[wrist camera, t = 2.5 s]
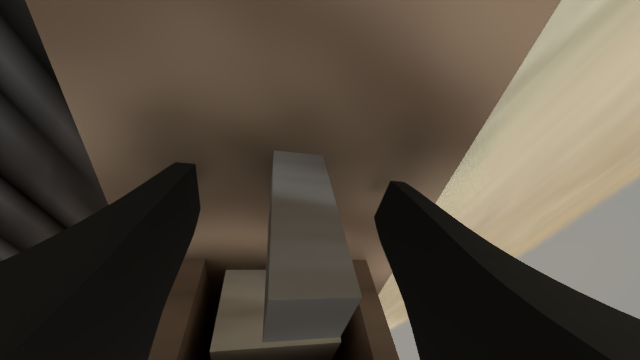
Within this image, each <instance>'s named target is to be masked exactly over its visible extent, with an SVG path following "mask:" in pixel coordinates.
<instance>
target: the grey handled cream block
mask: <svg viewBox="0 0 640 360" xmlns="http://www.w3.org/2000/svg"><path fill="white" fill-rule="evenodd" d="M361 299H362V295H361V291H360V288H359V284H358V280H357V277H356V273H355V270H354V266H353V262H352V259H351V255H350V252H349V248H348V244H347V241H346V237H345V233H344V230H343V226H342V223H341V219H340V215H339V212H338V208H337V205H336V201H335V197H334V194H333V190H332V186H331V183H330V179H329V176H328V172H327V168H326V165H325V161H324V157H323V155H314V154H304V153H295V152H285V151H275V150H274V155H273V165H272V175H271V185H270V201H269V221H268V240H267V260H266V270H226V272H225V277H224V282H223V287H222V292H221V297H220V302H219V307H218V312H217V317H216V322H215V327H214V332H213V337H212V342H211V347H210V357H211V360H331V359H332V358H333V356H334V354H335V353H336V351H337V349H338V347H339V346H340V344H341V337H340V336H341V335H342V333H343V331H344V329H345V327H346V326H347V324H348V322H349V320H350V318H351V317H352V315H353V313H354V311H355V309H356V308H357V306H358V304H359V302H360V300H361Z"/></svg>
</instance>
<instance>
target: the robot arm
mask: <svg viewBox="0 0 640 360" xmlns="http://www.w3.org/2000/svg"><path fill="white" fill-rule="evenodd" d="M200 210H201V206H200V198H199V189H198V181H197V172H196V164H192V163H180V162H175V163H173V164H172V165H170V166H168V167H167V168H165V169H164V170H162V171H161V172H159V173H158V174H156V175H155V176H153V177H152V178H151V179H149V180H148V181H146V182H145V183H143V184H141V185H140V186H138V187H137V188H135V189H134V190H132V191H131V192H129V193H128V194H126V195H125V196H123V197H121V198H120V199H118V200H116V201H115V202H113V203H111V204H110V205H108V206H106V207H105V208H103V209H101V210H100V211H98V212H96V213H94V214H93V215H91V216H89V217H88V218H86V219H84V220H83V221H81V222H79V223H77V224H75V225H74V226H72V227H70V228H68V229H66V230H64V231H62V232H61V233H59V234H57V235H55V236H53V237H51V238H49V239H47V240H45V241H43V242H41V243H39V244H37V245H35V246H33V247H31V248H29V249H27V250H25V251H23V252H21V253H19V254H17V255H14V256H12V257H10V258H8V259H6V260H3V261H1V262H0V360H148V358H149V354H150V351H151V347H152V344H153V341H154V338H155V334H156V331H157V328H158V325H159V321H160V318H161V315H162V312H163V309H164V306H165V304H166V301H167V298H168V296H169V293H170V291H171V289H172V286H173V284H174V281H175V279H176V277H177V274H178V272H179V269H180V267H181V265H182V262H183V260H184V258H185V255H186V253H187V250H188V248H189V245H190V243H191V241H192V238H193V236H194V232H195V229H196V225H197V222H198V218H199V214H200ZM374 220H375V224H376V228H377V232H378V236H379V240H380V242H381V245H382V248H383V250H384V253H385V255H386V258H387V260H388V263H389V265H390V267H391V270H392V272H393V275H394V277H395V280H396V282H397V285H398V287H399V290H400V292H401V295H402V298H403V301H404V303H405V307H406V310H407V314H408V317H409V320H410V324H411V327H412V330H413V334H414V338H415V342H416V346H417V350H418V353H419V357H420V360H640V319H638V318H635V317H633V316H631V315H628V314H626V313H624V312H621V311H619V310H617V309H614V308H612V307H610V306H607V305H606V304H603V303H601V302H599V301H597V300H595V299H593V298H591V297H588V296H587V295H584V294H582V293H580V292H578V291H576V290H574V289H572V288H570V287H568V286H566V285H564V284H562V283H560V282H558V281H556V280H554V279H552V278H550V277H548V276H547V275H545V274H543V273H541V272H539V271H537V270H535V269H534V268H532V267H530V266H528V265H526V264H524V263H523V262H521V261H519V260H518V259H516V258H514V257H512V256H511V255H509V254H508V253H506V252H504V251H503V250H501V249H499V248H498V247H496V246H494V245H493V244H491V243H490V242H488V241H487V240H485V239H483V238H482V237H481V236H479V235H478V234H476V233H475V232H473V231H472V230H470V229H469V228H467V227H466V226H465V225H463V224H462V223H460V222H459V221H458V220H456V219H455V218H453V217H452V216H451V215H449V214H448V213H447V212H445V211H444V210H443V209H441V208H440V207H439V206H437V205H436V204H435V203H433V202H432V201H431V200H429V199H428V198H427V197H425V196H424V195H423V194H421V193H420V192H419V191H417V190H416V189H414V188H413V187H412V186H410V185H408V184H407V183H405V182H401V181H390V183H389V185H388V187H387V189H386V191H385V194H384V196H383V198H382V200H381V203H380V205H379V207H378V209H377V212H376V214H375V216H374Z"/></svg>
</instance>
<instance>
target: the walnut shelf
mask: <svg viewBox="0 0 640 360" xmlns="http://www.w3.org/2000/svg"><path fill="white" fill-rule="evenodd" d="M25 1H26V4H27V6H28V8H29V11H30V13H31V16H32V18H33V21H34V23H35V26H36V28H37V31H38V33H39V35H40V38H41V40H42V43H43V45H44V48H45V50H46V53H47V55H48V58H49V60H50V62H51V65H52V67H53V70H54V72H55V75H56V77H57V80H58V82H59V85H60V87H61V89H62V92H63V94H64V97H65V99H66V102H67V104H68V107H69V109H70V112H71V114H72V117H73V119H74V121H75V124H76V126H77V129H78V131H79V134H80V136H81V139H82V141H83V144H84V146H85V148H86V151H87V153H88V156H89V158H90V161H91V163H92V166H93V168H94V171H95V173H96V175H97V178H98V180H99V183H100V185H101V188H102V190H103V193H104V195H105V198H106V200H107V202H108V205H110V204H111V203H113V202H115V201H116V200H118V199H120V198H121V197H123V196H125V195H126V194H128V193H129V192H131V191H132V190H134V189H135V188H137V187H138V186H140V185H141V184H143V183H145V182H146V181H148V180H149V179H151V178H152V177H153V176H155V175H156V174H158V173H159V172H161V171H162V170H164V169H165V168H167V167H168V166H170V165H172V164H173V163H175V162H180V163H192V164H196V172H197V181H198V189H199V198H200V206H201V210H200V214H199V218H198V222H197V225H196V229H195V232H194V236H193V238H192V241H191V243H190V245H189V248H188V250H187V253H186V255H185V258H184V260H183V262H182V265H181V267H180V269H179V272H178V274H177V277H176V279H175V281H174V284H173V286H172V289H171V291H170V293H169V296H168V298H167V301H166V304H165V306H164V309H163V312H162V315H161V318H160V321H159V325H158V328H157V331H156V334H155V338H154V341H153V344H152V347H151V351H150V354H149V358H148V360H211V357H210V347H211V342H212V337H213V332H214V327H215V322H216V317H217V312H218V307H219V302H220V297H221V292H222V287H223V282H224V277H225V272H226V270H266V260H267V240H268V221H269V201H270V185H271V175H272V165H273V155H274V150H275V151H285V152H295V153H304V154H314V155H323V157H324V161H325V165H326V168H327V172H328V176H329V179H330V183H331V186H332V190H333V194H334V197H335V201H336V205H337V208H338V212H339V215H340V219H341V223H342V226H343V230H344V233H345V237H346V241H347V244H348V248H349V252H350V255H351V259H352V262H353V266H354V270H355V273H356V277H357V280H358V284H359V288H360V291H361V295H362V299H361V300H360V302H359V304H358V306H357V308H356V309H355V311H354V313H353V315H352V317H351V318H350V320H349V322H348V324H347V326H346V327H345V329H344V331H343V333H342V335H341V336H340V337H341V344H340V346H339V347H338V349H337V351H336V353H335V354H334V356H333V358H332V359H331V360H399V357H398V355H397V351H396V348H395V345H394V342H393V339H392V336H391V333H390V330H389V327H388V324H387V321H386V318H385V315H384V312H383V309H382V306H381V303H380V300H379V297H378V294H379V293H380V291H381V290H382V288H383V286H384V285H385V283H386V282H387V280H388V278H389V277H390V275H391V273H392V270H391V267H390V265H389V263H388V260H387V258H386V255H385V253H384V250H383V248H382V245H381V242H380V240H379V236H378V232H377V228H376V224H375V220H374V216H375V214H376V212H377V209H378V207H379V205H380V203H381V200H382V198H383V196H384V194H385V191H386V189H387V187H388V185H389V183H390V181H401V182H405V183H407V184H408V185H410V186H412V187H413V188H414V189H416V190H417V191H419V192H420V193H421V194H423V195H424V196H425V197H427V198H428V199H429V200H431V201H432V202H433V203H436V201H437V199H438V198H439V196H440V195H441V193H442V191H443V190H444V188H445V186H446V185H447V183H448V182H449V180H450V178H451V177H452V175H453V174H454V172H455V170H456V169H457V167H458V166H459V164H460V162H461V161H462V159H463V157H464V156H465V154H466V153H467V151H468V149H469V148H470V146H471V145H472V143H473V141H474V140H475V138H476V136H477V135H478V133H479V132H480V130H481V128H482V127H483V125H484V124H485V122H486V120H487V119H488V117H489V116H490V114H491V112H492V111H493V109H494V107H495V106H496V104H497V103H498V101H499V99H500V98H501V96H502V95H503V93H504V91H505V90H506V88H507V87H508V85H509V83H510V82H511V80H512V78H513V77H514V75H515V74H516V72H517V70H518V69H519V67H520V66H521V64H522V62H523V61H524V59H525V58H526V56H527V54H528V53H529V51H530V49H531V48H532V46H533V45H534V43H535V41H536V40H537V38H538V37H539V35H540V33H541V32H542V30H543V29H544V27H545V25H546V24H547V22H548V20H549V19H550V17H551V16H552V14H553V12H554V11H555V9H556V8H557V6H558V4H559V3H560V1H561V0H25Z"/></svg>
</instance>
